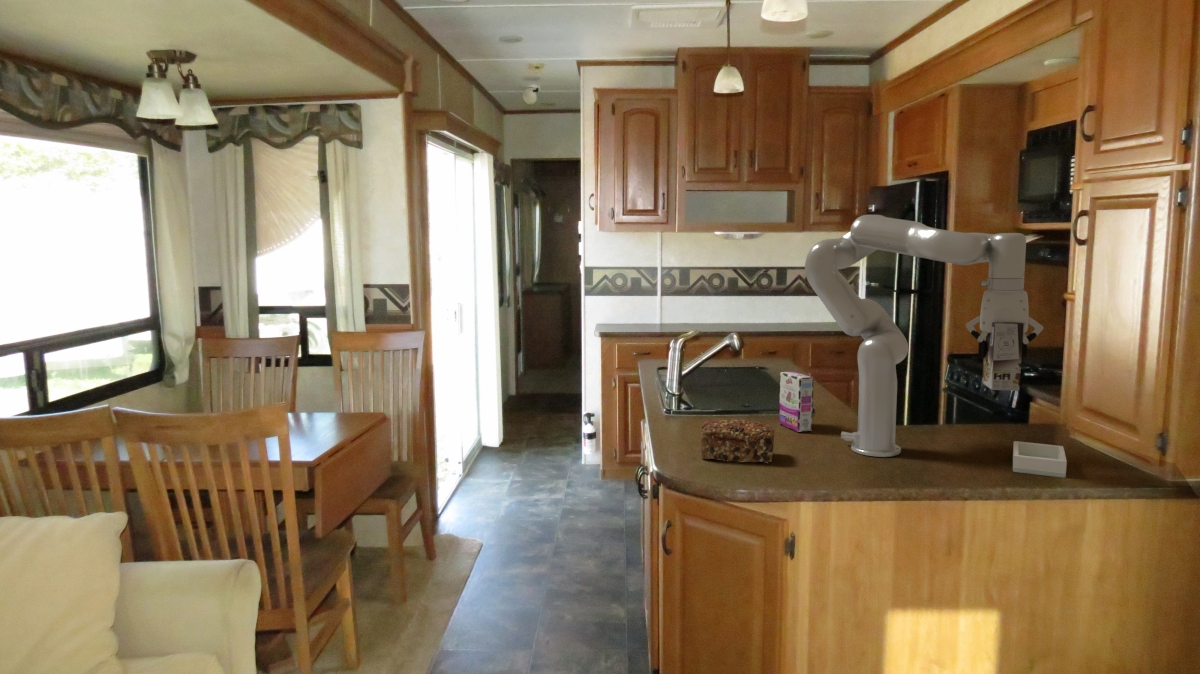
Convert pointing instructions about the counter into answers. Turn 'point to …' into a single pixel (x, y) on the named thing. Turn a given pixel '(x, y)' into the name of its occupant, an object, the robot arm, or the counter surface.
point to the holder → (1039, 459)
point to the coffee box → (1003, 356)
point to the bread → (737, 440)
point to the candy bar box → (796, 401)
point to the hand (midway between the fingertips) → (1002, 358)
